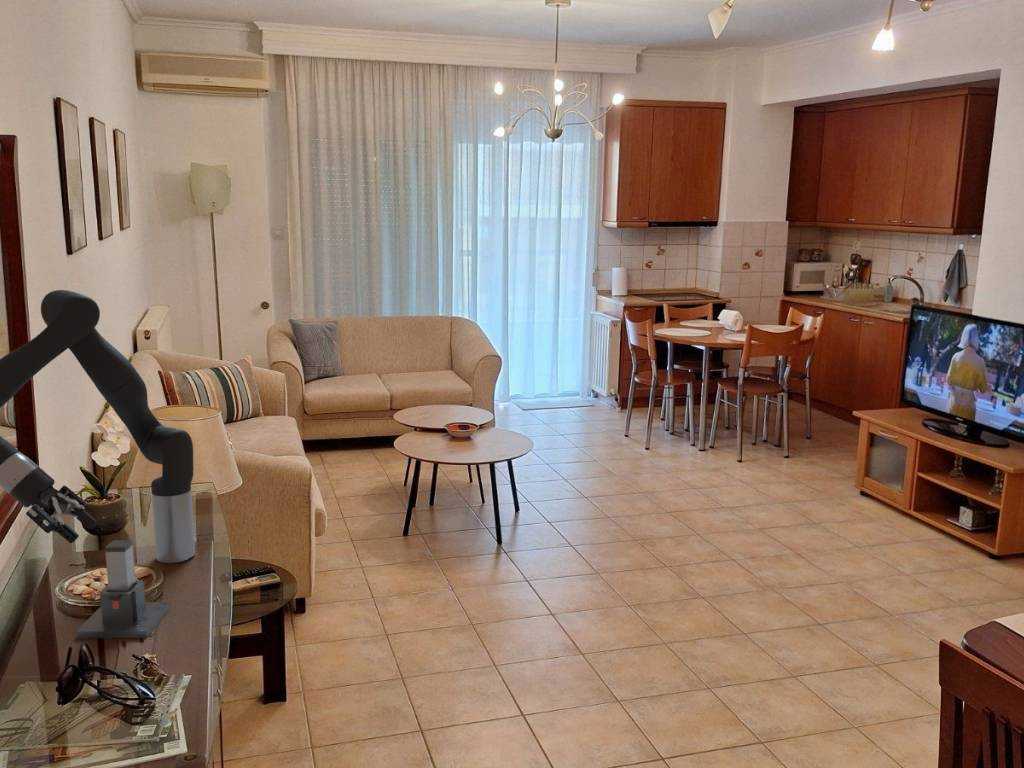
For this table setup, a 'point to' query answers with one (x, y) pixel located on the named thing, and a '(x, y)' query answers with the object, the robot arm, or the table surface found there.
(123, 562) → the post
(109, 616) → the stand
